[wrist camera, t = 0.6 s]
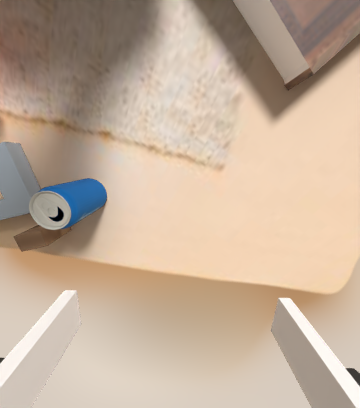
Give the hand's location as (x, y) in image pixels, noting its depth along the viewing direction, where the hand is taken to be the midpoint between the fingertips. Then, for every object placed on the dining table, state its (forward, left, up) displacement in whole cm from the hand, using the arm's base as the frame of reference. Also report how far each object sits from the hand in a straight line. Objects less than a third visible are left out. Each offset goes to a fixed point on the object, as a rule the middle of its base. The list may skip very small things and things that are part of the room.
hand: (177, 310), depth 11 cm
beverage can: (-7, -17, -26) cm, 31 cm away
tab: (-2, -27, -25) cm, 37 cm away
